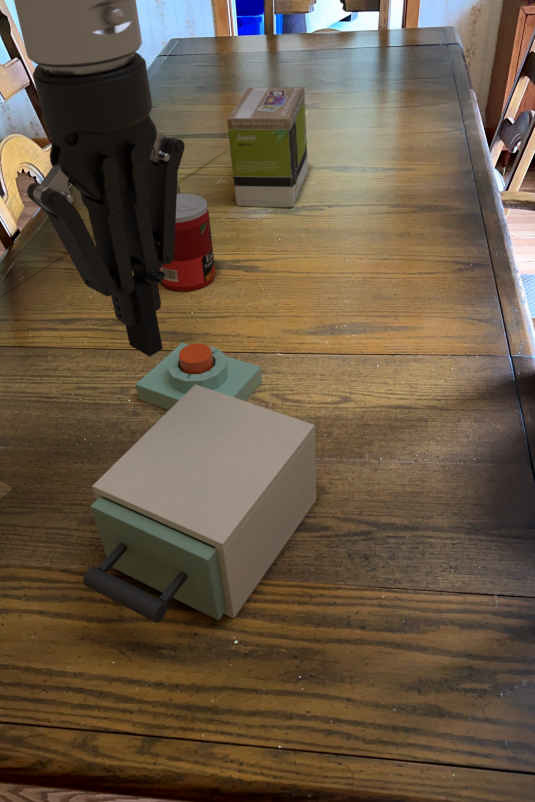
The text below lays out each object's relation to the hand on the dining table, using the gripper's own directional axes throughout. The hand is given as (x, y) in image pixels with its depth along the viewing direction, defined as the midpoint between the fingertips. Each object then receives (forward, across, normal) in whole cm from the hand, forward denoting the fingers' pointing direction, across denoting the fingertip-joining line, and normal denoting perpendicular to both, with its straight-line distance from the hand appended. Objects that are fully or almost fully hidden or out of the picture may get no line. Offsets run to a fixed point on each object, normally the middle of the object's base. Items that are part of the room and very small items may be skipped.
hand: (146, 346), depth 63 cm
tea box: (+15, +56, +37) cm, 69 cm away
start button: (+11, +10, +7) cm, 17 cm away
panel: (+15, +10, +7) cm, 19 cm away
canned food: (+15, +27, +26) cm, 40 cm away
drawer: (+14, -6, -10) cm, 19 cm away
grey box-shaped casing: (+15, -2, -10) cm, 18 cm away
